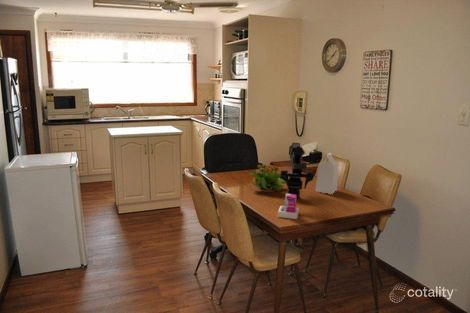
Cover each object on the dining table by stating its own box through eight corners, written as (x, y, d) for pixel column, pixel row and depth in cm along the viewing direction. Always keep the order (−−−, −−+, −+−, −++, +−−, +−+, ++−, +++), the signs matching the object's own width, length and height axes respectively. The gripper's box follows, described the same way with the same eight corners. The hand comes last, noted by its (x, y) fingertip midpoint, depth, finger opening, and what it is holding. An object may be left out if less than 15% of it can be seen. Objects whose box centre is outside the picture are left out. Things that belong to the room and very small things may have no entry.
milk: (320, 187, 259) (323, 151, 254) (337, 190, 253) (340, 153, 248) (315, 191, 249) (318, 153, 244) (332, 194, 243) (335, 156, 238)
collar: (279, 210, 208) (280, 205, 208) (298, 212, 206) (298, 207, 205) (277, 216, 198) (277, 211, 198) (297, 219, 196) (297, 213, 195)
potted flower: (283, 197, 233) (284, 170, 229) (246, 194, 237) (247, 167, 234) (285, 187, 257) (287, 162, 253) (252, 184, 261) (253, 160, 258)
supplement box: (283, 216, 199) (284, 196, 197) (284, 212, 205) (286, 193, 203) (294, 217, 198) (295, 197, 195) (295, 214, 203) (296, 194, 201)
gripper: (281, 156, 212) (281, 180, 203) (314, 158, 210) (315, 182, 201) (280, 167, 221) (279, 189, 212) (312, 168, 219) (312, 191, 210)
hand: (296, 188), depth 209 cm, fingers open, 9 cm apart
